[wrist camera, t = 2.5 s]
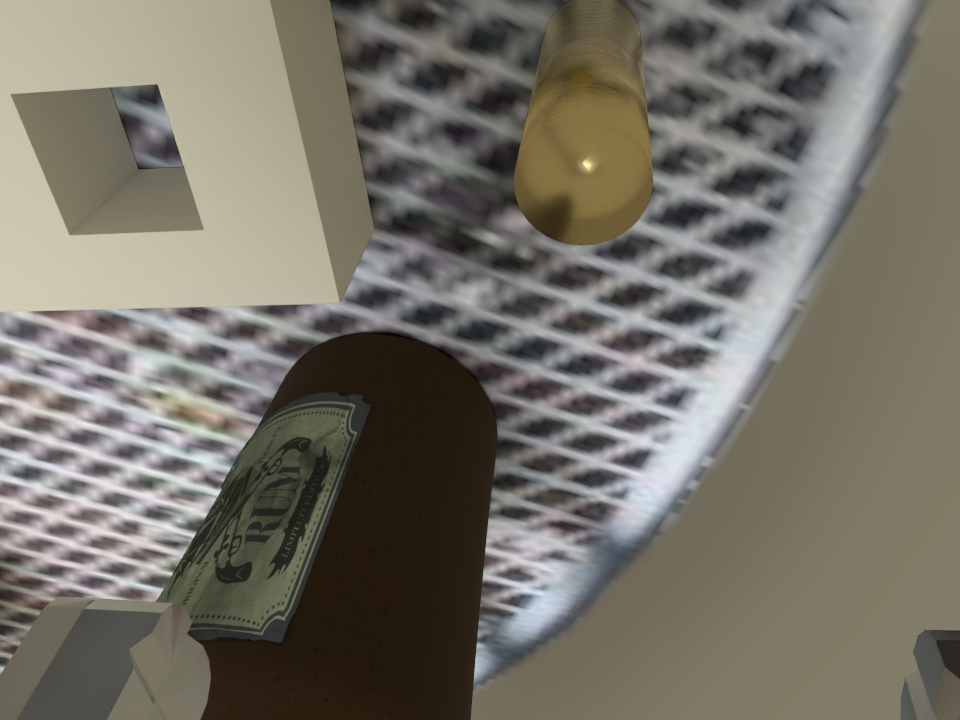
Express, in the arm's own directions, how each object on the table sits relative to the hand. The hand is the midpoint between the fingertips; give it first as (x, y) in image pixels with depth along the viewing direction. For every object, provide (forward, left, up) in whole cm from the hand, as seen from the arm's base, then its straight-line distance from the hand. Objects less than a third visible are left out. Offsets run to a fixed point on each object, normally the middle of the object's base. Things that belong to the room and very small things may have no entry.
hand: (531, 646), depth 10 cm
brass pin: (0, 0, -22) cm, 22 cm away
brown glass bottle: (+15, -9, -22) cm, 28 cm away
